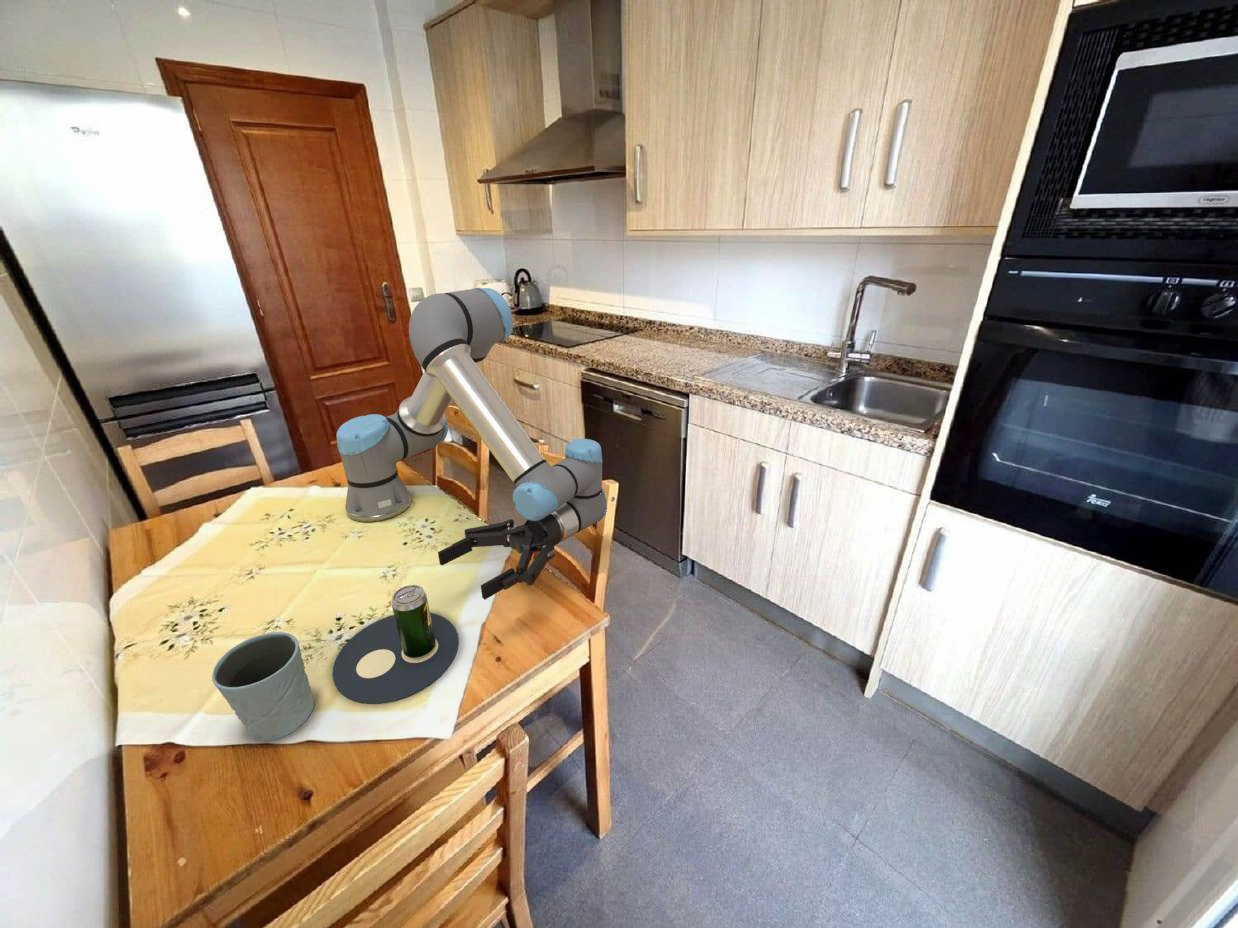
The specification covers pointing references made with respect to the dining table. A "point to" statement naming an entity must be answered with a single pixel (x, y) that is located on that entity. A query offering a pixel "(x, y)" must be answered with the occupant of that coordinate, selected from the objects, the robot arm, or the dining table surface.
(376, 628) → the spotted mat
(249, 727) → the gray plant pot
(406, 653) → the beer can
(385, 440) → the robot arm
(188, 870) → the dining table surface
